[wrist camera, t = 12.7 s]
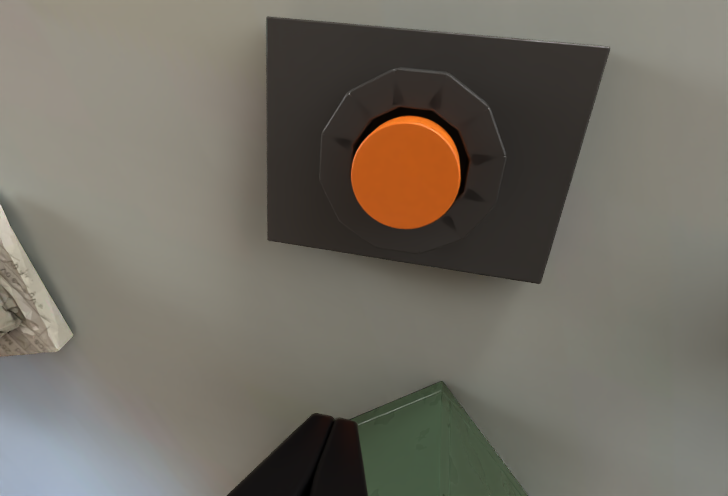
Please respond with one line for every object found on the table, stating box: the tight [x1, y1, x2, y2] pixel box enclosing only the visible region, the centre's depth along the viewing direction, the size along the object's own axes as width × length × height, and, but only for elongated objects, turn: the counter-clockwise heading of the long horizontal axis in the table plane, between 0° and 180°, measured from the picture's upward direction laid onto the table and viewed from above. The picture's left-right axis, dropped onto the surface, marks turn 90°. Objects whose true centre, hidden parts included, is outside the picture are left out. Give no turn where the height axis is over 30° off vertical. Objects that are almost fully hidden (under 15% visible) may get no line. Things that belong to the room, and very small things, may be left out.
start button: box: [351, 115, 461, 229], centre depth 15 cm, size 4×4×2 cm
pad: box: [266, 17, 610, 284], centre depth 17 cm, size 12×9×4 cm
